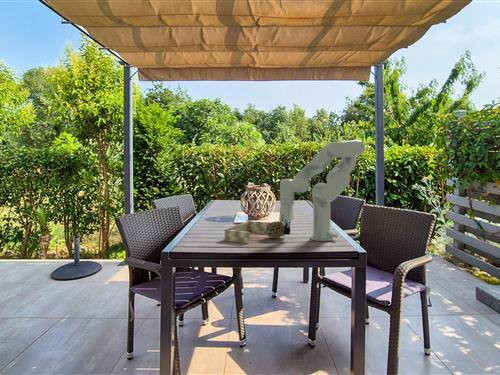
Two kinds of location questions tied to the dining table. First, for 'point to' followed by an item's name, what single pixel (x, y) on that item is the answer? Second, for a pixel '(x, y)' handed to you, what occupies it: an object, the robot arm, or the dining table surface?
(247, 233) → the box
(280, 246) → the dining table surface
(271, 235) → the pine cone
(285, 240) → the dining table surface
